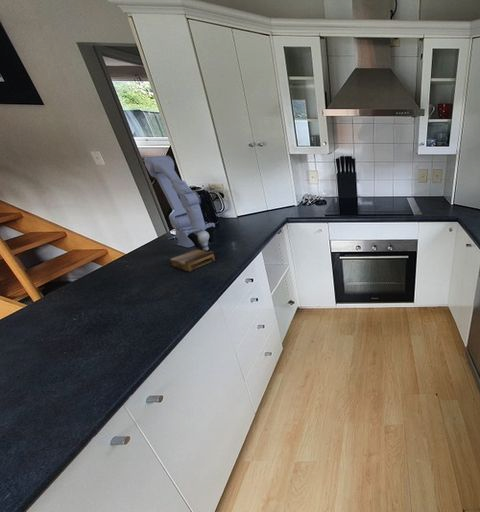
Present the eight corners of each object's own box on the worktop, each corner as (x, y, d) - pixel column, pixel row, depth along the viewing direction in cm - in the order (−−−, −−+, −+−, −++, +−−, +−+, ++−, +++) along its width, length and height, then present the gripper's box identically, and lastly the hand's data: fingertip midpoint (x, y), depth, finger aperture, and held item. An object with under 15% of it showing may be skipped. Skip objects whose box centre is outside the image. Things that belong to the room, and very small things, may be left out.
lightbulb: (202, 248, 139) (196, 228, 134) (215, 247, 140) (210, 227, 135) (196, 253, 133) (189, 232, 129) (209, 253, 134) (203, 232, 129)
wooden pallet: (172, 265, 122) (169, 256, 120) (199, 255, 132) (196, 246, 129) (189, 271, 117) (186, 261, 115) (215, 260, 127) (212, 251, 125)
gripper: (185, 224, 122) (194, 251, 127) (216, 215, 133) (223, 240, 139) (176, 221, 124) (185, 248, 130) (206, 213, 136) (213, 238, 142)
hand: (204, 244), depth 135 cm, fingers closed on lightbulb, 6 cm apart
